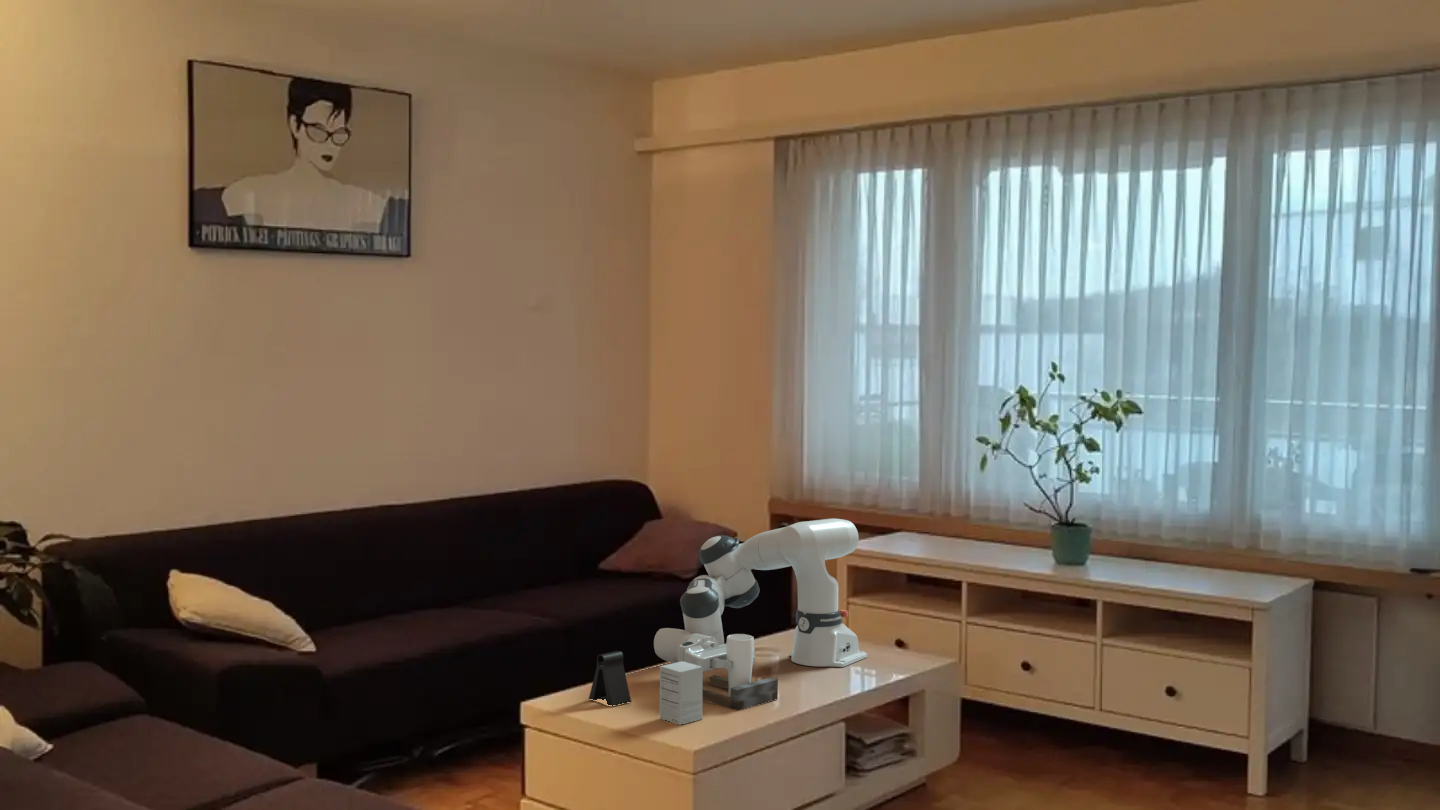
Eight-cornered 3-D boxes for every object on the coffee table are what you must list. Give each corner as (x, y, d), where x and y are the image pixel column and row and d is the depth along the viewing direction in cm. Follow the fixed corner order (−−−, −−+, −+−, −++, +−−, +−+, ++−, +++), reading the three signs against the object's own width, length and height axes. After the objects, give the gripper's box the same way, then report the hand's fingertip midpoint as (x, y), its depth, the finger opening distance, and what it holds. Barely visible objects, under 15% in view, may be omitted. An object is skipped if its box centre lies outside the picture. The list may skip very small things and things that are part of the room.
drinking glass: (750, 702, 329) (751, 641, 328) (723, 700, 331) (724, 639, 330) (755, 694, 336) (756, 634, 335) (728, 692, 337) (729, 633, 336)
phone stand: (588, 700, 332) (588, 651, 331) (607, 695, 336) (607, 647, 335) (612, 707, 325) (612, 658, 325) (631, 703, 330) (631, 654, 329)
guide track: (714, 682, 349) (714, 663, 349) (777, 699, 334) (777, 679, 333) (674, 692, 339) (674, 672, 339) (737, 710, 324) (738, 689, 324)
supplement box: (682, 713, 321) (682, 660, 321) (703, 719, 316) (703, 666, 315) (658, 719, 316) (658, 665, 316) (679, 726, 311) (679, 671, 310)
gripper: (731, 658, 349) (771, 668, 340) (673, 672, 335) (713, 682, 325) (731, 634, 349) (771, 643, 339) (673, 646, 335) (713, 656, 325)
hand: (742, 662), depth 332 cm, fingers closed on drinking glass, 6 cm apart
